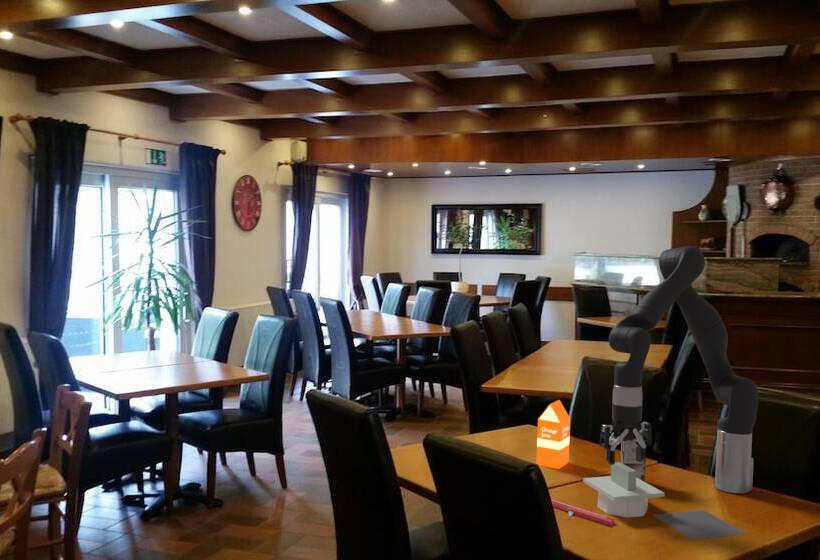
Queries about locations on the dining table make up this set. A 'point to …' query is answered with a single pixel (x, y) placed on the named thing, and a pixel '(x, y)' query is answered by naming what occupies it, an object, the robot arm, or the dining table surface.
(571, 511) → the red piece
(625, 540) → the dining table surface
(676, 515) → the mat
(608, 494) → the cover
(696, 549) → the dining table surface
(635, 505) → the bowl
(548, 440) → the orange juice
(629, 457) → the coffee box
